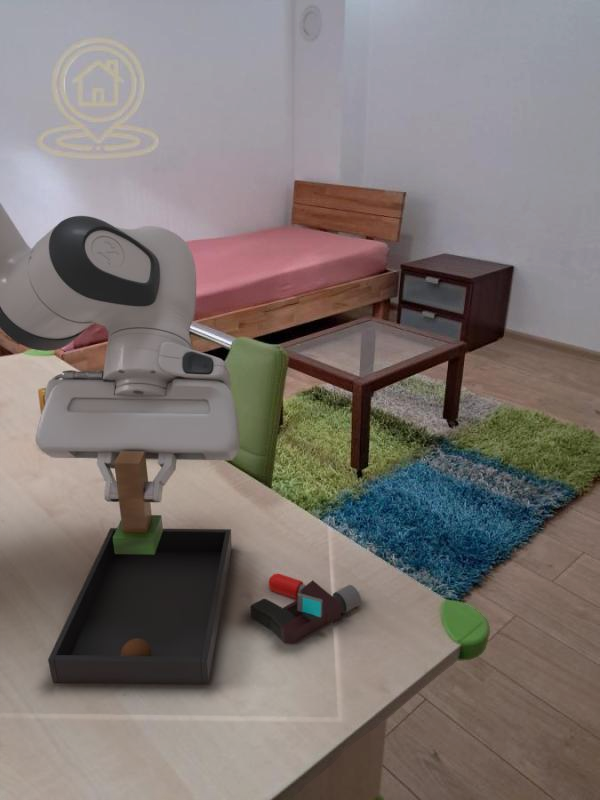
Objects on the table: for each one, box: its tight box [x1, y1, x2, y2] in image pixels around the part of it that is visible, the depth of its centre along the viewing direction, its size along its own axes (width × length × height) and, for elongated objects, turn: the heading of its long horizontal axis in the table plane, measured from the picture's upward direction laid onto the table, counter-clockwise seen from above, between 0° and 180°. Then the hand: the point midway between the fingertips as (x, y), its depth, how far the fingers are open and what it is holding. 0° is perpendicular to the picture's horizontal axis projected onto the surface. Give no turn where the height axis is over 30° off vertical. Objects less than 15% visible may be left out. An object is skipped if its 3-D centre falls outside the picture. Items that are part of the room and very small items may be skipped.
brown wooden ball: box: [120, 638, 152, 656], centre depth 63 cm, size 3×3×3 cm
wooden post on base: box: [113, 451, 164, 555], centre depth 63 cm, size 4×4×10 cm
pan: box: [47, 527, 233, 686], centre depth 71 cm, size 15×21×4 cm
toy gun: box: [249, 573, 362, 645], centre depth 71 cm, size 10×12×5 cm
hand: (133, 501), depth 62 cm, fingers closed on wooden post on base, 2 cm apart
